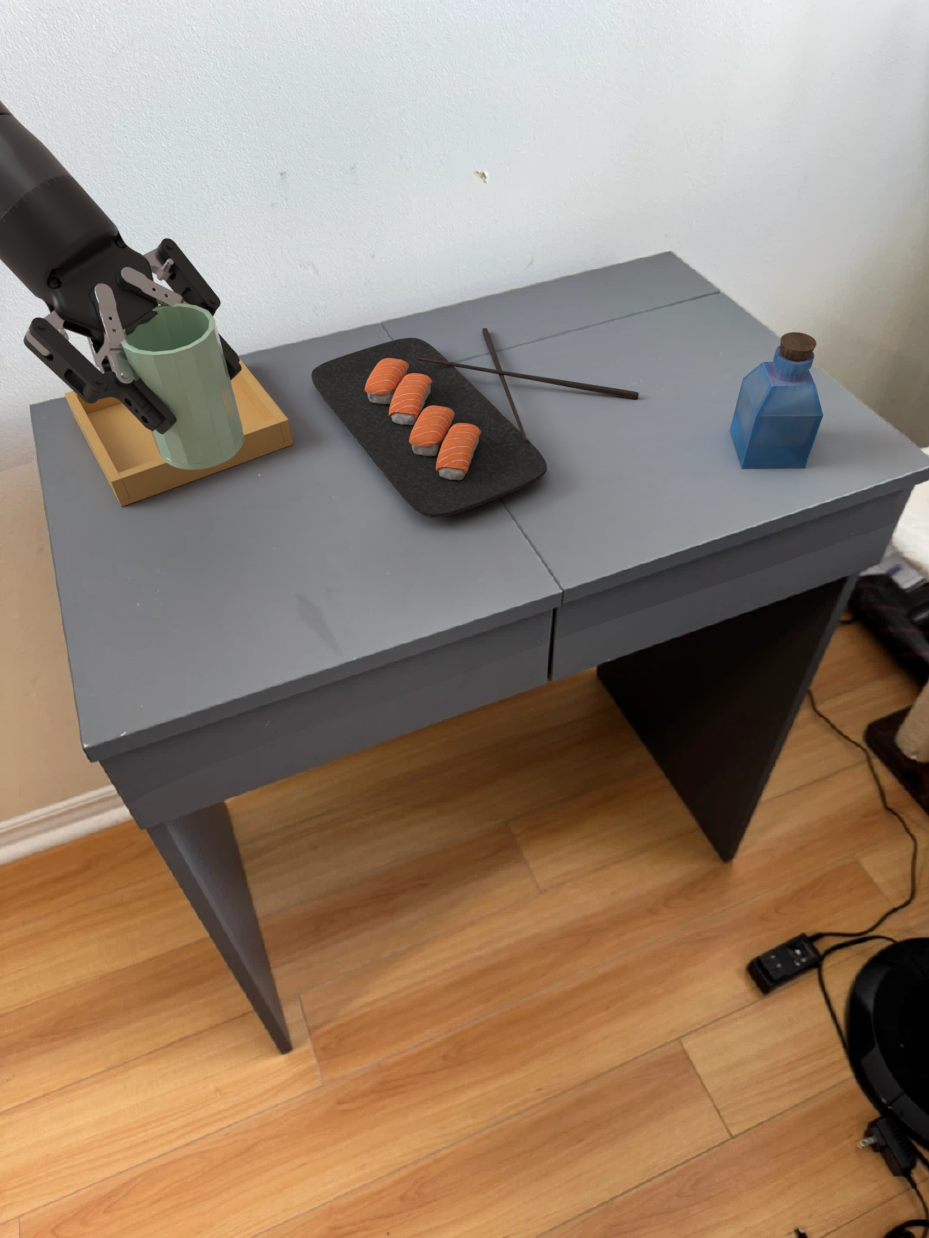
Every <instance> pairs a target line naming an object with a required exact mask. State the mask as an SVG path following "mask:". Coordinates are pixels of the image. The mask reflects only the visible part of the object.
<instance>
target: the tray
mask: <svg viewBox="0 0 929 1238" xmlns="http://www.w3.org/2000/svg"><path fill="white" fill-rule="evenodd" d="M227 344H229V343H228V342H227ZM239 359H240V361H239V363H240V365H241V367H242V370H241V371H240V372H239V373H238V374H237V375H236V377H235V378H233V379H232V380H231V384H232V388H233V392H234V396H235V400H236V404H237V408H238V412H239V415H240V419H241V423H242V427H243V429H242V430H243V434H244V441H243V444H242V447H241V448H240V450H239V451H238V452H237V453H236V454H235V455H234V456H233V457H232V458H230V459H229V460H227V461H225V462H223V463H221V464H219V465H217V466H213V467H210V468H206V469H198V470H187V469H180V468H176V467H173V466H171V465H169V464H168V463H166V462H165V461H164V460H163V459H162V457H161V456H160V454H159V451H158V449H157V447H156V444H155V441H154V439H153V436H152V433H151V430H149V429H147V428H145V427H144V425H143V424H142V423H141V422H140V421H139V420H138V419H137V418H136V417H135V416H134V415H133V414H132V413H131V412H130V411H129V410H128V409H127V408H126V406H125V405H124V404H123V403H122V402H121V401H120V400H118V399H116V398H113V397H108V398H103V399H99V400H98V401H97V402H95V403H92V404H91V403H87V402H85V401H84V400H83V399H82V398H81V397H80V396H78V395H77V394H76V393H75V392H74V391H73V390H72V391H67V392H65V393H64V397H65V399H66V401H67V404H68V406H69V408H70V410H71V413H72V415H73V417H74V420H75V421H76V423H77V425H78V427H79V429H80V431H81V433H82V435H83V437H84V439H85V441H86V443H87V445H88V446H89V448H90V450H91V452H92V454H93V456H94V458H95V461H96V462H97V463H98V466H99V467H100V469H101V471H102V473H103V475H104V477H105V479H106V480H107V482H108V484H109V486H110V488H111V490H112V491H113V494H114V497H115V498H116V499H117V502H118V503H119V506H120V507H121V508H123V507H125V506H128V505H131V504H134V503H136V502H139V501H142V500H145V499H147V498H150V497H153V496H155V495H158V494H161V493H165V492H166V491H169V490H171V489H175V488H177V487H180V486H183V485H186V484H189V483H192V482H194V481H197V480H200V479H203V478H205V477H208V476H210V475H214V474H216V473H219V472H222V471H225V470H227V469H229V468H232V467H235V466H238V465H241V464H243V463H246V462H249V461H252V460H254V459H257V458H259V457H263V456H265V455H268V454H271V453H273V452H277V451H279V450H282V449H284V448H287V447H290V446H292V445H294V439H293V435H292V430H291V425H290V421H289V418H288V417H287V416H286V415H285V413H284V412H283V411H282V409H280V407H279V406H278V405H277V403H276V402H275V400H274V399H273V398H272V397H271V396H270V395H269V393H268V392H267V390H265V387H263V386H262V384H261V383H260V382H259V381H258V380H257V378H256V377H255V376H254V374H252V372H251V371H250V370H249V368H248V367H247V366H246V365H245V363H244V362H243V360H242V359H241V358H240V357H239Z"/></svg>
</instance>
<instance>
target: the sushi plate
mask: <svg viewBox="0 0 929 1238" xmlns="http://www.w3.org/2000/svg"><path fill="white" fill-rule="evenodd" d="M481 331H482V332H481V333H482V336H483V338H484V341H485V344H486V346H487V349H488V352H489V354H490V357H491V359H492V362H493V364H494V367H495V369H494V368H488V367H483V366H482V367H481V366H476V365H469V364H463V363H457V362H451V361H449V360H448V359H447V358H446V357H445V356H444V355H443V354H441V352H440V351H438V350H437V349H436V348H435V347H434V346H432V345H431V344H430V343H428V342H427V341H425V340H423V339H421V338H417V337H403V338H398V339H393V340H390V341H386V342H382V343H378V344H376V345H373V346H370V347H367V348H363V349H360V350H357V351H353V352H351V353H347V354H345V355H342V356H338V357H336V358H333V359H331V360H330V359H329V360H328V361H325V362H323V363H321V364H319V365H317V366H316V367H314V369H312V371H311V374H310V376H311V381H312V383H313V386H314V387H315V389H316V390H317V392H318V393H319V394H320V396H321V397H322V398H323V400H324V401H325V402H326V404H327V405H328V406H329V407H330V409H331V410H332V411H333V412H334V413H335V415H336V416H337V417H338V419H339V420H340V421H341V423H342V424H343V425H344V426H345V428H346V429H347V430H348V431H349V432H350V434H351V435H352V436H353V437H354V439H355V440H356V441H357V443H358V444H359V445H360V446H361V447H362V449H363V450H364V451H365V453H366V454H367V455H368V456H369V457H370V459H371V460H372V462H374V464H375V465H376V466H377V467H378V469H379V470H380V471H381V472H382V474H383V475H384V476H385V477H386V479H387V480H388V481H389V482H390V483H391V485H392V486H393V488H395V490H396V491H397V492H398V493H399V495H400V496H401V497H402V499H404V501H406V503H408V504H409V505H410V507H411V508H412V509H414V510H415V511H417V512H418V513H419V514H421V515H423V516H425V517H429V518H445V517H449V516H454V515H456V514H457V515H458V514H460V513H464V512H465V511H469V510H471V509H474V508H476V507H480V506H482V505H485V504H487V503H489V502H492V501H495V500H497V499H499V498H502V497H505V496H507V495H510V494H512V493H515V492H516V491H519V490H521V489H524V488H526V487H528V486H530V485H532V484H533V483H535V482H537V481H538V480H540V479H541V478H542V477H544V475H545V474H546V473H547V471H548V465H547V462H546V460H545V458H544V456H543V455H542V453H541V452H540V451H539V449H538V448H536V446H535V445H534V444H533V443H532V442H531V441H530V440H529V439H528V438H527V435H526V432H525V430H524V427H523V425H522V422H521V419H520V415H519V413H518V411H517V408H516V405H515V403H514V400H513V397H512V394H511V392H510V389H509V386H508V384H507V380H506V378H505V376H506V377H511V378H512V377H513V378H517V379H522V380H529V381H532V382H533V381H534V382H539V383H545V384H550V385H555V386H560V387H565V388H569V389H570V388H571V389H575V390H581V391H587V392H592V393H593V392H594V393H599V394H602V395H603V394H604V395H610V396H615V397H621V398H625V399H632V400H638V399H639V395H640V392H638V391H634V390H629V389H622V388H616V387H609V386H604V385H599V384H590V383H585V382H578V381H572V380H565V379H557V378H551V377H545V376H539V375H532V374H525V373H519V372H512V371H508V370H507V371H506V370H503V369H502V366H501V363H500V360H499V357H498V354H497V352H496V348H495V346H494V343H493V340H492V337H491V335H490V332H489V330H488V328H487V327H482V330H481ZM457 368H461V369H466V370H473V371H478V372H484V373H489V374H495V375H498V377H499V380H500V382H501V385H502V387H503V390H504V392H505V396H506V398H507V401H508V403H509V406H510V408H511V411H512V413H513V416H514V418H515V421H516V424H517V426H518V428H517V427H516V426H515V425H514V424H513V423H512V422H511V421H510V420H509V419H508V418H507V417H506V416H505V415H503V413H502V412H500V410H499V409H498V408H497V407H496V406H494V404H493V403H491V401H490V400H489V399H487V397H486V396H484V394H482V393H481V392H480V391H479V389H477V388H476V387H475V386H474V385H473V383H471V382H470V381H469V380H468V379H467V378H466V377H465V376H464V375H463V374H462V373H461V371H459V370H458V369H457Z"/></svg>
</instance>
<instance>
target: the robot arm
mask: <svg viewBox="0 0 929 1238" xmlns="http://www.w3.org/2000/svg"><path fill="white" fill-rule="evenodd" d="M0 262H2V263H3V264H4V265H5V266H6V267H7V268H8V269H9V270H10V272H11V273H13V275H14V276H15V277H16V278H17V279H18V280H19V281H20V282H21V283H22V284H23V286H25V287H26V288H27V290H28V291H29V292H30V293H31V294H32V295H33V296H34V297H36V298H37V299H39V300H42V301H43V302H44V304H45V305H46V307H47V309H48V311H49V313H48V314H47V315H45V316H44V317H41V316H40V317H39V316H37V317H34V318H33V319H32V320H31V321H30V324H29V326H28V328H27V330H26V333H25V334H24V337H23V339H22V340H23V344H24V346H25V347H26V348H27V349H28V350H29V351H30V352H31V353H32V355H34V356H35V357H37V359H39V360H40V361H41V362H42V363H43V364H44V366H46V367H47V368H48V369H49V370H50V371H51V372H53V374H55V375H56V376H57V377H58V378H59V379H60V380H62V382H63V383H64V384H65V385H66V386H67V387H69V388H70V389H71V390H72V391H74V392H75V393H76V394H77V395H78V396H80V397H81V398H82V399H83V400H84V401H85V402H87V403H91V404H92V403H95V402H97V401H98V400H99V399H103V398H108V397H113V398H116V399H118V400H120V401H121V402H122V403H123V404H124V405H125V406H126V408H127V409H128V410H129V411H130V412H131V413H132V414H133V415H134V416H135V417H136V418H137V419H138V420H139V421H140V422H141V423H142V424H143V425H144V427H145V428H147V429H149V430H151V431H154V430H156V431H157V432H158V433H160V434H164V433H166V432H167V431H168V430H169V429H170V428H171V427H172V426H173V425H174V424H175V423H176V422H177V419H176V417H175V415H174V414H173V413H172V412H171V411H170V410H169V409H168V408H167V407H166V405H165V404H164V403H163V402H162V401H161V400H160V399H159V398H158V397H157V396H156V395H155V394H154V393H153V392H152V390H151V389H150V388H149V387H147V386H146V384H145V383H144V382H143V381H142V380H141V379H140V378H139V379H138V380H137V381H135V380H134V375H133V371H132V368H131V365H130V363H129V362H128V360H127V358H126V356H125V353H124V351H123V348H122V345H121V341H123V340H124V339H125V340H126V338H125V335H124V332H123V330H124V329H125V332H126V334H127V335H130V334H132V333H133V332H134V330H135V329H136V327H137V326H138V325H141V324H144V323H148V322H149V321H150V320H151V319H152V318H154V317H155V315H157V314H158V312H157V311H152V310H153V309H155V308H156V306H159V305H162V306H174V305H175V304H177V303H181V304H189V305H196V306H198V307H201V308H203V309H205V310H208V311H209V312H210V314H211V315H212V316H213V317H214V316H215V315H216V312H217V311H218V309H219V308H220V307H221V306H222V305H221V304H222V302H221V299H220V297H219V296H218V295H217V294H216V291H214V290H213V288H212V287H211V286H210V285H209V283H208V282H207V281H206V279H205V278H204V277H203V276H202V275H201V273H200V272H199V270H197V268H196V267H195V265H194V264H193V263H192V261H190V259H189V258H188V257H187V256H186V254H185V253H184V252H183V250H182V249H181V248H180V247H179V245H178V244H177V242H176V241H175V240H173V239H171V238H169V237H165V238H163V239H162V240H161V241H160V243H159V244H158V246H157V247H156V248H154V249H152V250H150V251H148V252H146V253H144V254H142V253H140V252H138V251H137V250H135V249H133V248H132V247H130V246H129V245H128V244H127V243H126V242H125V240H124V239H123V236H122V235H121V233H120V231H119V228H118V226H117V225H116V224H115V223H114V221H113V220H112V219H111V218H110V217H109V216H108V215H107V214H106V212H105V211H104V210H103V209H102V208H101V207H100V206H99V205H98V204H97V202H96V201H95V200H94V199H93V198H92V197H91V196H90V194H89V193H88V192H87V191H86V190H85V188H83V186H82V185H81V184H80V183H79V182H78V181H77V179H76V178H74V176H73V175H72V174H71V173H70V171H68V170H67V168H66V167H65V166H64V165H63V164H62V163H61V162H60V161H59V159H58V158H57V157H56V156H55V155H54V154H53V152H52V151H51V150H50V149H49V148H48V147H47V146H46V145H45V144H44V143H43V142H42V141H41V140H40V139H39V138H38V137H37V136H36V135H35V134H34V133H32V132H31V131H30V130H29V129H28V128H26V127H25V125H23V124H22V123H21V122H20V121H19V119H18V118H16V117H15V115H14V114H13V113H12V112H11V111H10V110H9V108H7V106H6V105H5V104H4V103H3V102H2V101H1V100H0ZM153 274H154V275H155V276H156V279H157V280H158V281H161V282H162V281H165V283H166V284H167V286H168V287H169V288H170V289H169V288H167V287H165V286H163V285H162V284H159V283H158V282H155V280H154V275H153ZM67 331H69V332H71V333H74V334H77V335H80V336H83V337H85V338H87V341H88V345H89V348H90V351H91V354H92V358H93V361H94V364H95V365H94V364H93V363H92V362H91V360H89V359H88V358H87V357H86V356H85V355H84V354H83V353H82V352H81V351H80V350H79V349H78V348H76V346H75V345H73V344H72V343H71V342H70V337H69V334H68V332H67ZM218 334H219V338H220V342H221V346H222V349H223V353H224V357H225V361H226V365H227V369H228V373H229V377H230V381H231V380H232V379H233V378H235V377H236V375H237V374H238V373H239V372H240V371H241V370H242V367H241V365H240V363H239V361H240V360H241V358H240V357H239V355H238V353H237V352H236V351H235V350H234V349H233V348H232V346H231V345H230V344H229V343H228V341H226V339H225V338H224V337H223V336H222V335H221V334H220V333H219V332H218ZM227 343H228V344H227ZM239 358H240V359H239Z"/></svg>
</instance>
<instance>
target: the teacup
mask: <svg viewBox="0 0 929 1238" xmlns="http://www.w3.org/2000/svg"><path fill="white" fill-rule="evenodd" d="M152 311H157V312H158V314H157V315H155V317H154V318H152V319H151V320H150V321H149V322H148V323H144V324H141V325H138V326H137V327H136V329H135V330H134V332H133V333H132V334H130V335H127V334H126V332H125V329H124V330H123V332H124V335H125V338H126V340H125V339H124V340H123V341H121V345H122V348H123V351H124V353H125V356H126V358H127V360H128V362H129V363H130V365H131V368H132V371H133V375H134V380H135V381H137V380H138V379H139V378H140V379H141V380H142V381H143V382H144V383H145V384H146V386H147V387H149V388H150V389H151V390H152V392H153V393H154V394H155V395H156V396H157V397H158V398H159V399H160V400H161V401H162V402H163V403H164V404H165V405H166V407H167V408H168V409H169V410H170V411H171V412H172V413H173V414H174V415H175V417H176V419H177V422H176V423H175V424H174V425H173V426H172V427H171V428H170V429H169V430H168V431H167V432H166V433H164V434H160V433H158V432H157V431H156V430H154V431H151V433H152V436H153V439H154V441H155V444H156V447H157V449H158V451H159V454H160V456H161V457H162V459H163V460H164V461H165V462H166V463H168V464H169V465H171V466H173V467H176V468H180V469H187V470H198V469H206V468H210V467H213V466H217V465H219V464H221V463H223V462H225V461H227V460H229V459H230V458H232V457H233V456H234V455H235V454H236V453H237V452H238V451H239V450H240V448H241V447H242V444H243V441H244V434H243V430H242V429H243V427H242V423H241V419H240V415H239V412H238V408H237V404H236V400H235V396H234V392H233V388H232V384H231V381H230V377H229V373H228V369H227V365H226V361H225V357H224V353H223V349H222V346H221V342H220V338H219V334H220V333H219V330H218V326H217V322H216V319H215V317H214V316H212V315H211V314H210V312H209V311H208V310H205V309H203V308H201V307H198V306H196V305H189V304H181V303H177V304H175V305H174V306H162V305H160V304H159V306H156V308H155V309H153V310H152ZM218 333H219V334H218Z"/></svg>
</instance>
